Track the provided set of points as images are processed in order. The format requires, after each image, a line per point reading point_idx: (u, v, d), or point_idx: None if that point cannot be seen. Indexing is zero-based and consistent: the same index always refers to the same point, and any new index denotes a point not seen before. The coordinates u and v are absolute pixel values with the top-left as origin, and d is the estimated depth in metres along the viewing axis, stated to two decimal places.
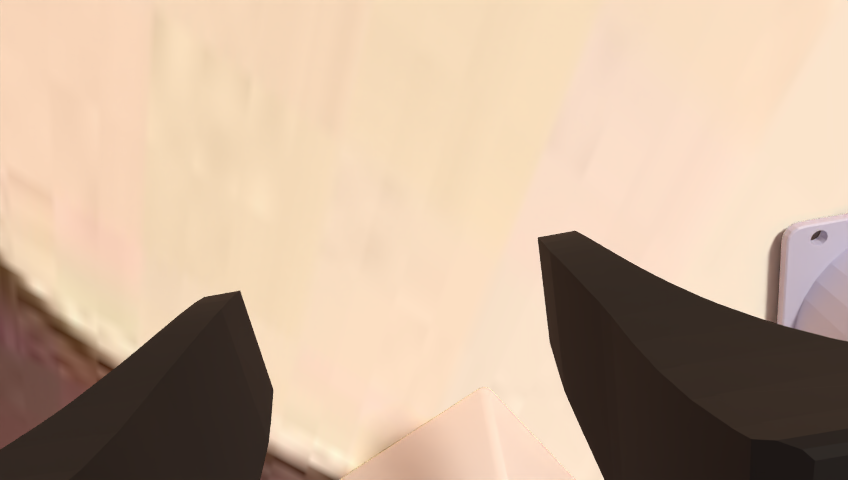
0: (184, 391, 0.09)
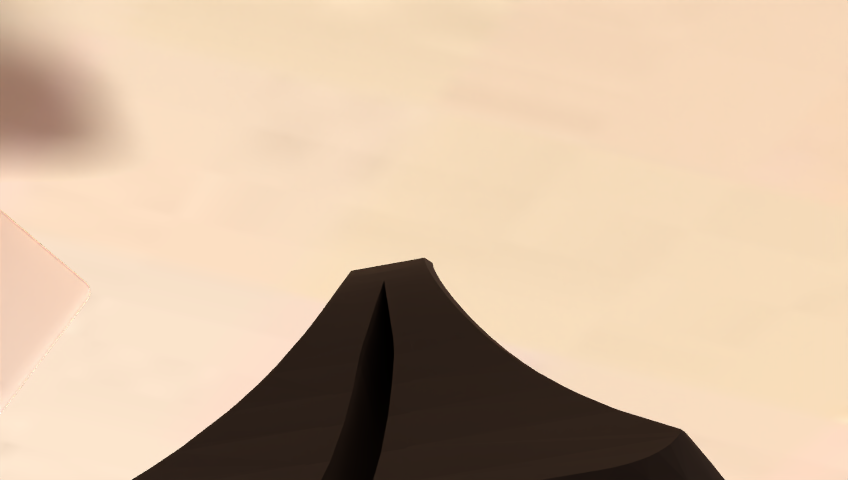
0: (374, 359, 0.09)
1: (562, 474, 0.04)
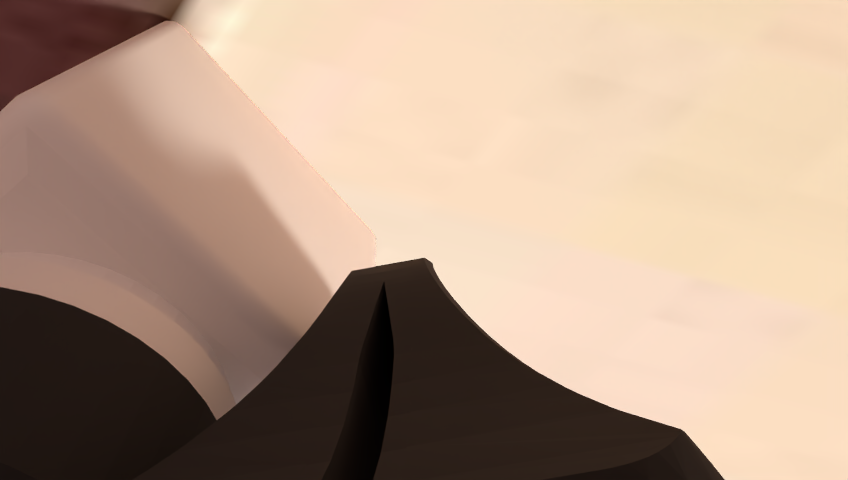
0: (374, 359, 0.09)
1: (562, 474, 0.04)
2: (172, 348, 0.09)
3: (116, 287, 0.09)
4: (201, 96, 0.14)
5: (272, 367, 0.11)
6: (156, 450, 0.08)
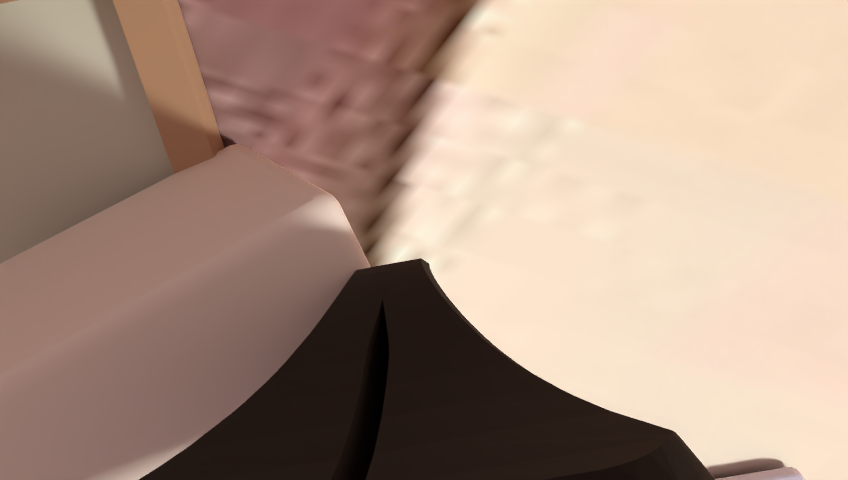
0: (380, 357, 0.09)
1: (552, 475, 0.04)
2: None
3: None
4: (234, 362, 0.11)
5: None
6: None
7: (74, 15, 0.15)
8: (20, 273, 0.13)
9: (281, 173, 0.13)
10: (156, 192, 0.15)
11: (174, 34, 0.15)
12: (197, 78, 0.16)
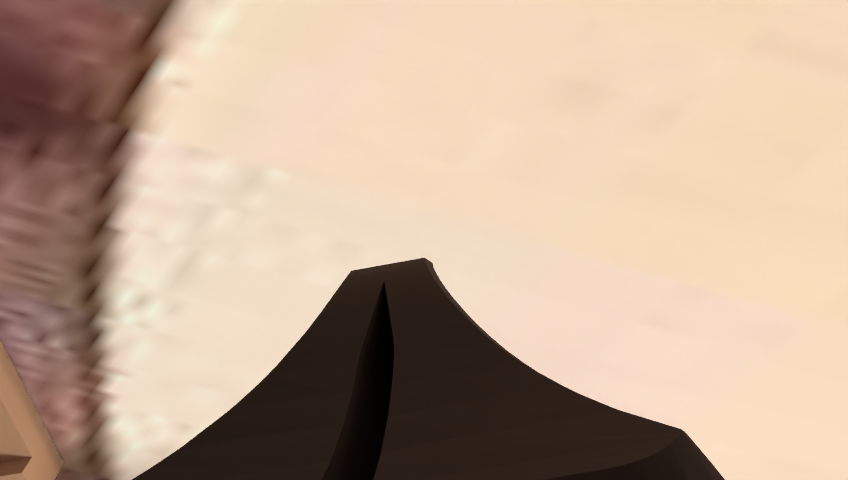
0: (374, 359, 0.09)
1: (562, 474, 0.04)
2: None
3: None
4: None
5: None
6: None
7: None
8: None
9: None
10: None
11: None
12: None
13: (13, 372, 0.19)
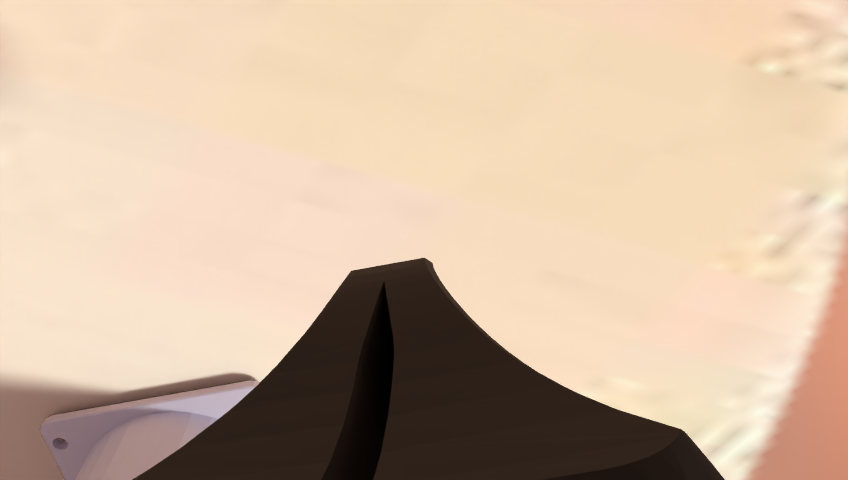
0: (374, 358, 0.09)
1: (562, 474, 0.04)
2: None
3: None
4: None
5: None
6: None
7: None
8: None
9: None
10: None
11: None
12: None
13: None
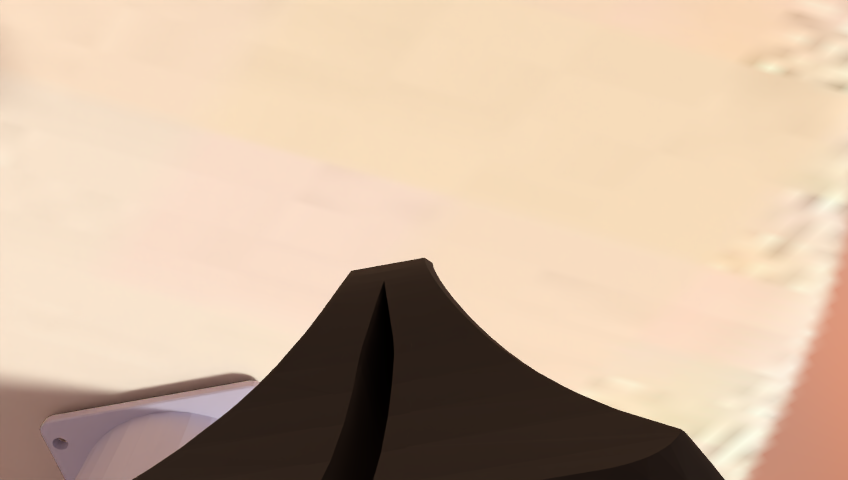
0: (374, 358, 0.09)
1: (562, 474, 0.04)
2: None
3: None
4: None
5: None
6: None
7: None
8: None
9: None
10: None
11: None
12: None
13: None
